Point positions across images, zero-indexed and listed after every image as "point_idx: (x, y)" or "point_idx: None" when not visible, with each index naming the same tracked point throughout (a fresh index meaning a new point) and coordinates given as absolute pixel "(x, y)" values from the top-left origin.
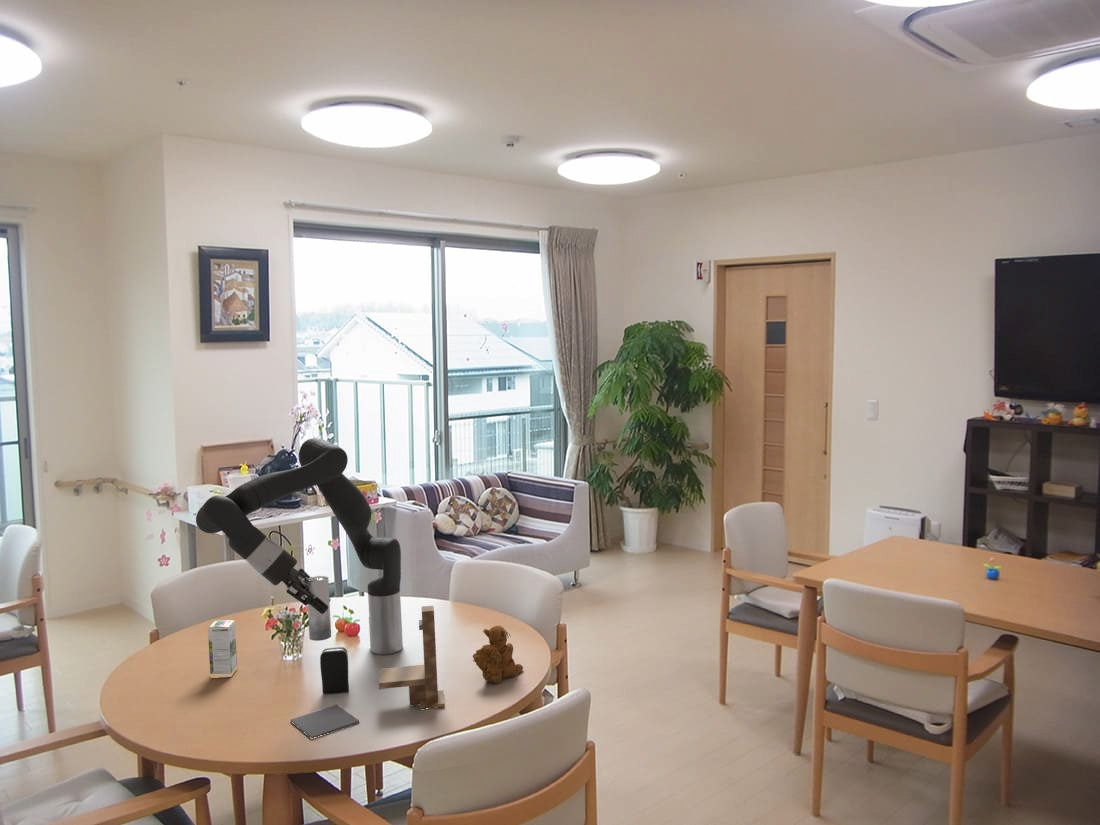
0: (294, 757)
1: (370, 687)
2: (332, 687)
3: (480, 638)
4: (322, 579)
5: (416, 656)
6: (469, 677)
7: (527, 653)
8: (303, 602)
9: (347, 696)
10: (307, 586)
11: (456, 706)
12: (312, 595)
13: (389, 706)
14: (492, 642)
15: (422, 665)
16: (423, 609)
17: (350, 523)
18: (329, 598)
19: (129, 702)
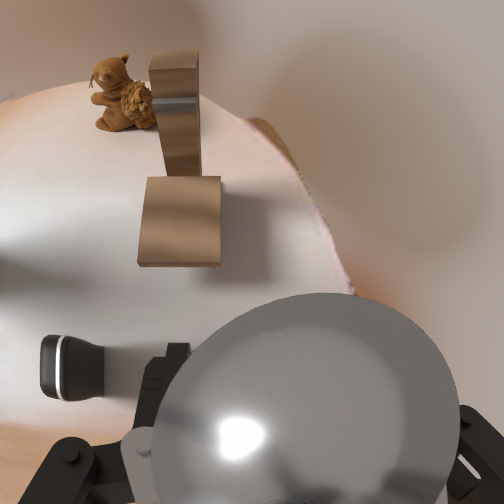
0: None
1: (92, 305)
2: (99, 377)
3: (3, 144)
4: (370, 372)
5: (7, 226)
6: (117, 149)
7: (79, 92)
8: (458, 461)
9: (120, 349)
10: (445, 495)
11: (216, 167)
12: (464, 416)
13: (186, 268)
14: (119, 82)
15: (150, 179)
16: (177, 65)
17: None
18: (175, 348)
19: None
